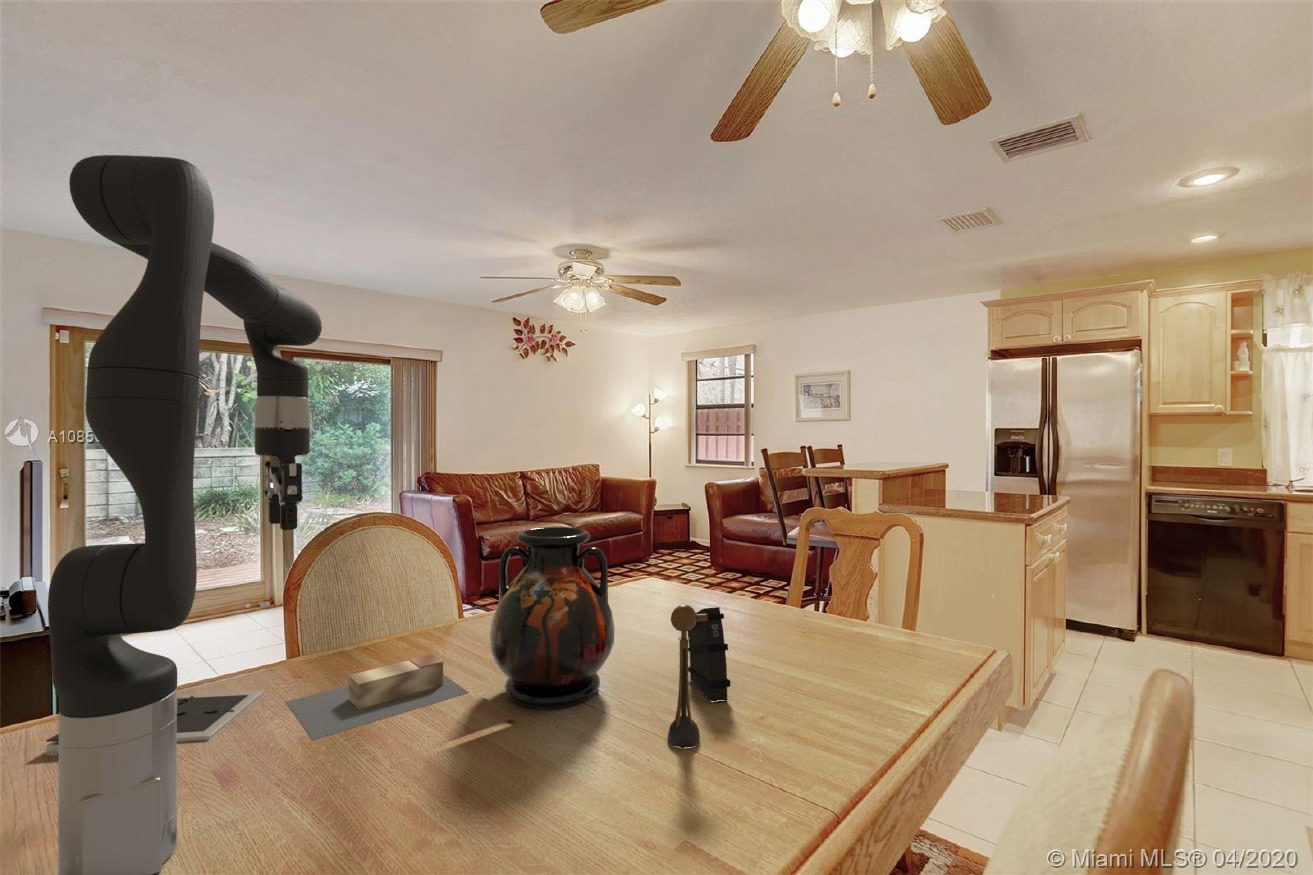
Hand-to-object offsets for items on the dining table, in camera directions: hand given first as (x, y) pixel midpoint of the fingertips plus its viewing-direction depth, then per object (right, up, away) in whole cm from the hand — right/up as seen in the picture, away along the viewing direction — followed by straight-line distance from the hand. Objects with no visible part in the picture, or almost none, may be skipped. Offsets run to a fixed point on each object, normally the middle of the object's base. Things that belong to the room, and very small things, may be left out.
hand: (282, 526), depth 97 cm
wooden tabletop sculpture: (+65, -31, -8) cm, 72 cm away
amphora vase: (+42, -31, +9) cm, 53 cm away
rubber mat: (+14, -30, +4) cm, 33 cm away
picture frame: (-16, -31, -4) cm, 35 cm away
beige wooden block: (+16, -29, +6) cm, 34 cm away
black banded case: (+69, -31, +11) cm, 76 cm away
